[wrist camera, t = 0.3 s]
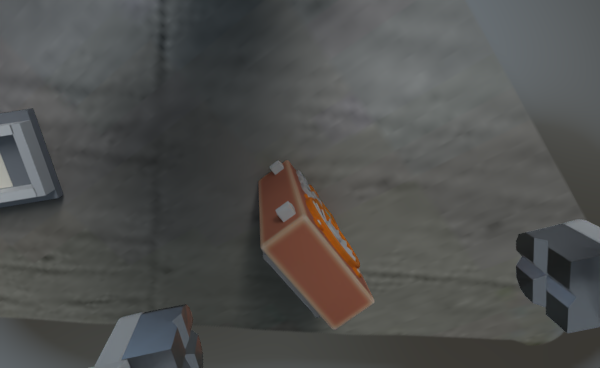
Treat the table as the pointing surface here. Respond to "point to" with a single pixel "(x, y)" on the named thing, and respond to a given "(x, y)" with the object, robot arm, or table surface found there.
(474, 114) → the table surface
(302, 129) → the table surface
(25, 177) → the rail board
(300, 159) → the table surface
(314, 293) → the orange box with grille
